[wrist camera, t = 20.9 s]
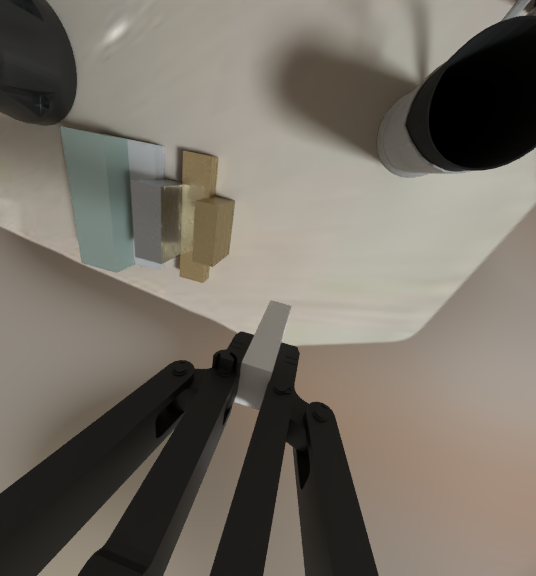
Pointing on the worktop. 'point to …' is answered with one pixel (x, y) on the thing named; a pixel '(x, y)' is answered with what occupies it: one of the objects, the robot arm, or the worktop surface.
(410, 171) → the grey mug
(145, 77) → the worktop surface
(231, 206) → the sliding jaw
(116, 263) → the block
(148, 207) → the steel block
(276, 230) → the worktop surface
